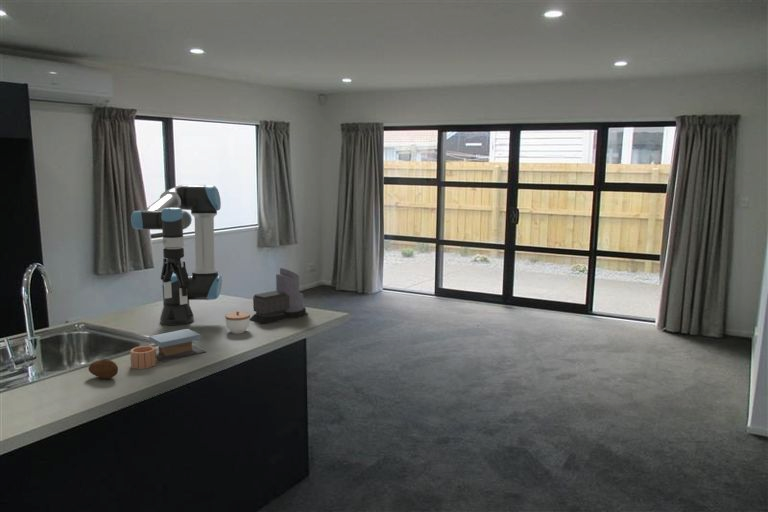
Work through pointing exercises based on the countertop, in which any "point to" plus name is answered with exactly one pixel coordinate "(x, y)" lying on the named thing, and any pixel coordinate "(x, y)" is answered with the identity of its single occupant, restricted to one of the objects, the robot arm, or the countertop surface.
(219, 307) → the countertop surface
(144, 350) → the bowl
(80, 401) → the countertop surface
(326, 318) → the countertop surface
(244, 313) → the lidded jar
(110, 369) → the potato
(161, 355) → the stand
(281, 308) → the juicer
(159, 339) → the cover board
